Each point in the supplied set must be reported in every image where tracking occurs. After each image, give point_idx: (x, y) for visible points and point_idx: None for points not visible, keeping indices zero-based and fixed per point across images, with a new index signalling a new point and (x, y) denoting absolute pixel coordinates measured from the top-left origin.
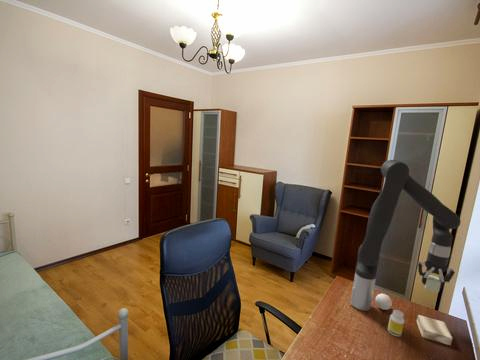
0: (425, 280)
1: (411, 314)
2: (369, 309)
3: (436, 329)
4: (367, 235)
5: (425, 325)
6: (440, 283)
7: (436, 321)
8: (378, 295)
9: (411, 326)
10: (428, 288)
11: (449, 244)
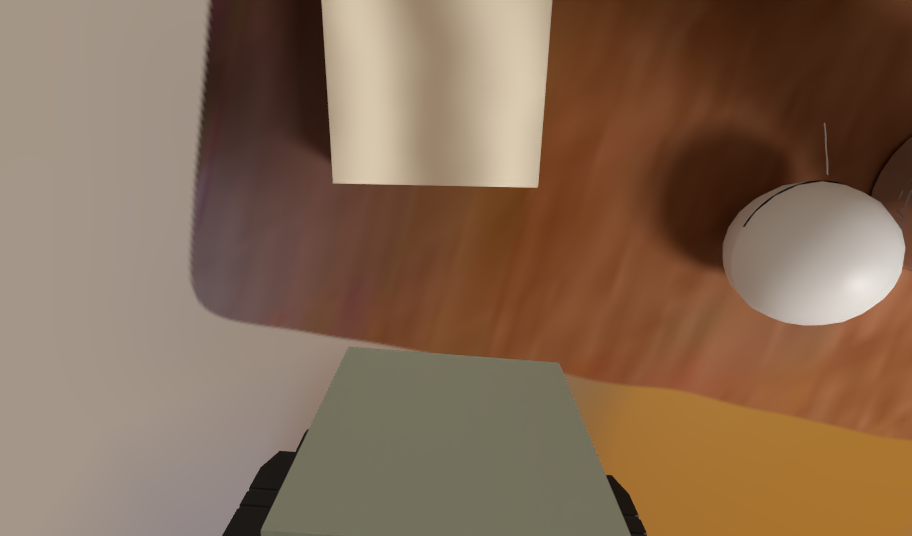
0: None
1: (539, 254)
2: (900, 151)
3: (431, 17)
4: None
5: (519, 34)
6: (284, 499)
7: (397, 156)
8: (899, 273)
9: (589, 85)
10: (517, 372)
11: None
